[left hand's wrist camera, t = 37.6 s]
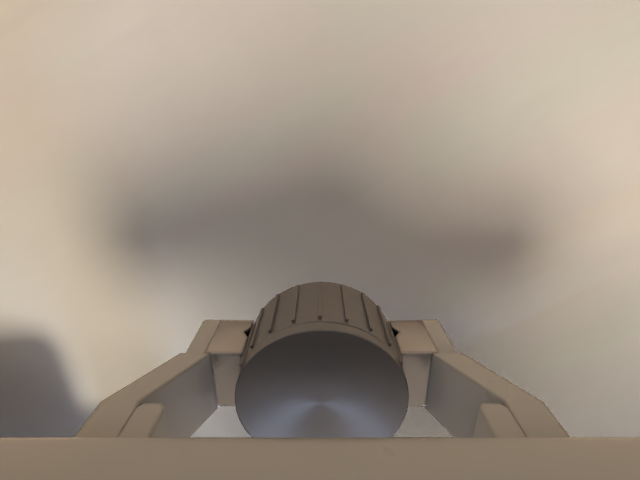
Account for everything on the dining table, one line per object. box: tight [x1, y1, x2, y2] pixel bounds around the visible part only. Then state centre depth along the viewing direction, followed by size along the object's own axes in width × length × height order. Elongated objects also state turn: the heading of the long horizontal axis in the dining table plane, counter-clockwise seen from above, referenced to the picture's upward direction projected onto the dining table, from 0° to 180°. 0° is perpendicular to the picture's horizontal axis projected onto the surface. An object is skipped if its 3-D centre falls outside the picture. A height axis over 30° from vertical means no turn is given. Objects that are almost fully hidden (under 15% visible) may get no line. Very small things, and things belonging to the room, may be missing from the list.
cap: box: [235, 282, 409, 438], centre depth 9 cm, size 4×4×2 cm
